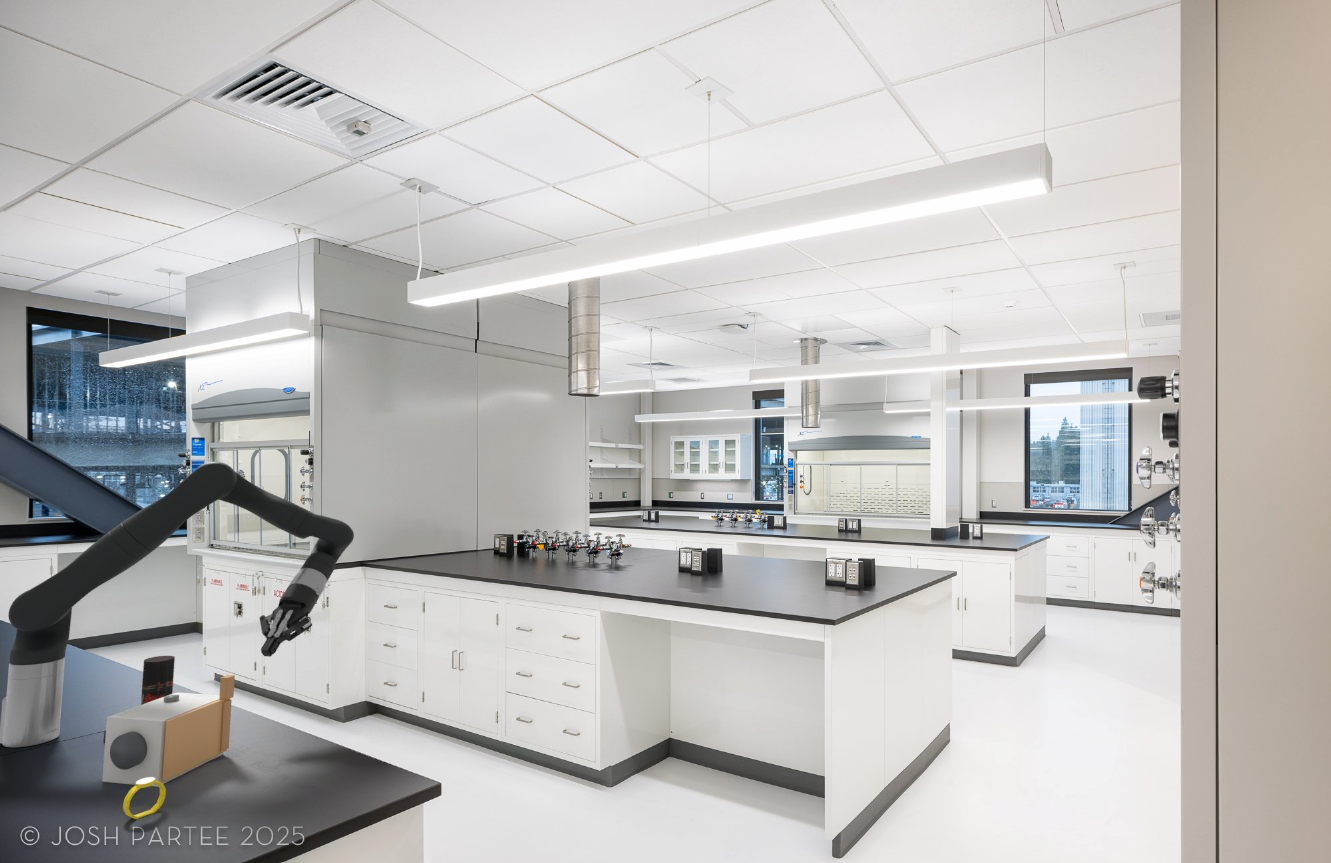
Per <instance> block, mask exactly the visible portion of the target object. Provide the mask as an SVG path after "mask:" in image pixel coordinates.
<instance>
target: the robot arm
mask: <svg viewBox="0 0 1331 863" xmlns="http://www.w3.org/2000/svg"><path fill="white" fill-rule="evenodd" d="M216 501H222V502H225V503H228V504H231V505H234V506H235V507H239V508H242V509H243V510H246V511H248V512H250V513H251V514H252V515H255V516H257V517H259V518H260V519H262V520H264V521H265V522H267V523H268V524H270V525H272V526H273V527H275V528H277V529H279V530H281V531H283V532H286V533H287V534H290V535H292V536H294V537H295V538H299V539H302V540H305V539H307V538H310V537H313V538H317V541H316V543H315V544H314V546H313V548H312V550H311V552H310V555H308V557H307V558H306V559H305V561H304V563H303V564H302V566H301V568H300V569H299V571H298V572H297V573H296V574H295V576H294V577H293V578H292V580H291V581H290V583H289V585H288V586H287V587H286V589H285V590H284V592H283V594H282V596H280V599H279V602H278V606H277V607H275V609H274V610H272V612H271V614H268V615H267V616H265V615H264V614H262V615H261V616H260V617H259V623H260V627H261V628H260V629H261V633H262V635H263V636H264V637H265V639H266V640H265V641H264V642H263V644H262V646H261V649H260V652H261V654H262V655H263V657H267V658H268V657H272V656H273V655H274V654H275V653H276V652H277V651H278V649H279V647H280V645H281V644H282V643H284V642H285V641H288V642H292V641H293V640H294V639H295V638H296V637H298V636H300V635H301V634H303V633H304V632H306V631H307V630H309V629H310V628H312V626H313V623H312V621H311V620H310V619H309V614H310V613H312V610H313V609H314V607H315V605H316V603H317V602H318V601H319V599H320V597H321V595H322V594H323V591H324V589H325V588H326V585H327V583H328V581H329V579H330V578H331V576H332V574H333V573H334V570H335V568H336V564H337V563H338V561H339V558H340V557H341V556H342V554H343V553H344V552H345V550H346V549H347V548H348V547H349V546H350V545H351V543H352V542H353V540H354V538H355V533H354V531H353V529H352V527H351V526H350V525H348V523H346V522H344V521H342V520H339V519H337V518H333V517H329V516H325V515H320V514H316V513H313V512H312V511H310V510H307V509H306V508H304V507H302V506H300V505H298V504H296V503H293V502H292V501H290V500H287V499H284V498H282V497H280V496H278V495H275V494H273V493H271V492H268V491H267V490H264V489H262V488H261V487H259V486H257V485H255V484H254V483H252V482H250V481H249V480H247V479H246V478H245V477H243V476H242V475H241V474H239V473H238V472H237V471H236V470H234V468H232V467H231V466H230V465H228V464H227V463H224V462H221V461H220V462H219V461H208V462H205V463H202V464H201V465H198V467H196V468H195V469H194V470H193V471H192V472H191V473H190V474H189V475H188V476H187V477H185V479H183V480H182V481H181V482H180V483H179V484H178V485H177V486H175V487H174V488H173V489H172V490H170V491H168V493H167V494H165V495H163V496H162V497H160V498H159V499H158V500H155V501H154V502H152V503H151V504H148V505H147V506H145V507H143V508H142V509H140V510H139V511H137V512H135V513H134V514H133V515H130V516H129V517H128V518H126V519H124V520H123V521H121V522H120V523H119V524H118V525H116V526H115V527H113V528H112V529H111V530H109V531H108V532H107V533H105V534H104V535H103V536H102V537H100V538H99V539H98V540H96V541H95V542H93V544H91V545H90V546H89V547H88V548H87V549H86V550H84V551H83V552H82V553H81V554H79V556H78V557H77V558H75V559H74V560H73V561H72V562H70V563H69V564H68V565H67V566H65V567H64V568H63V569H62V570H60V571H58V572H56V573H55V574H54V575H51V577H49V578H47V579H45V580H44V581H42V582H41V583H39V584H37V585H35V586H34V587H32V588H30V589H28V590H26V591H24V592H23V593H21V594H19V595H18V596H17V597H16V598H15V599H14V600H13V602H12V603H11V604H10V607H9V609H8V620H9V623H10V624H11V625H12V627H13V628H15V629H16V635H15V639H14V643H13V645H12V647H11V649H10V652H9V660H8V663H9V664H8V672H7V673H8V674H7V686H6V696H5V697H3V699H2V702H1V711H0V712H1V714H0V744H2V746H3V747H6V748H22V747H29V746H31V747H32V746H36V745H41V744H44V743H47V742H50V741H52V740H54V739H56V738H58V737H60V729H61V716H62V703H63V702H62V700H63V689H64V678H65V677H64V676H65V675H64V674H65V662H66V661H65V660H66V652H67V651H66V650H67V646H68V643H69V639H70V634H71V633H70V631H71V622H72V621H71V620H72V612H73V611H72V610H73V607H74V606H75V605H76V604H77V603H79V602H80V601H81V600H83V598H85V597H86V596H87V595H88V594H90V593H91V592H92V591H94V590H95V589H96V588H98V587H100V586H102V585H103V584H105V583H107V582H108V581H111V580H112V579H114V578H115V577H118V576H119V575H120V574H122V573H123V572H125V571H127V570H129V569H130V568H131V567H133V566H134V565H136V564H138V563H139V562H140V561H142V560H143V559H144V558H146V557H147V556H148V555H150V554H151V553H152V552H154V551H155V550H156V549H157V548H159V547H160V546H161V545H162V544H163V543H164V542H166V541H167V540H168V539H169V538H171V536H172V535H173V534H175V533H176V531H177V530H178V529H180V527H181V526H183V524H185V522H187V521H188V520H189V519H190V518H191V517H193V516H194V515H195V514H197V513H199V512H201V510H204V509H205V508H206V507H208V506H209V505H212V504H213V503H215V502H216Z"/></svg>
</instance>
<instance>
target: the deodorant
mask: <svg viewBox="0 0 1331 863" xmlns="http://www.w3.org/2000/svg"><path fill="white" fill-rule="evenodd" d="M175 658H176V657H175V656H174V655H157V656H152V657H147V658H145V659H144V660H143V666H142V680H141V681H142V683H141V684H142V685H141V699H140V705H142V704H145V703H148V702H151V701H154V700H156V699H159V698H162V697H165V696H168V695H171V694H173V693H174V692H173V691H174V675H175Z"/></svg>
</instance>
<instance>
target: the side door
mask: <svg viewBox="0 0 1331 863" xmlns="http://www.w3.org/2000/svg"><path fill="white" fill-rule="evenodd" d="M235 679H236V678H235V674H227V675H223V676H221V677H220V680H219V681H220V682H219V695H220V696H219V700H217V701H214V702H212V703H209V704H207V705H204V706H202V707H199V708H197V709H194V710H192V711H189V712H187V713H184V714H182V715H179V716H177V717H174V718H172V719H169V720H166V733H165V749H164V764H163V779H162V780H165V781H166V780H168V779H170V778H173V777H175V776H177V775H179V774H181V773H183V772H185V771H187V770H189V769H191V768H193V767H195V766H197V765H199V764H201V763H203V762H205V761H207V760H209V759H211V758H213V757H215V756H217V755H219V754H221V753H223V754H224V753H225V752H227V751H228V749H229V747H230V733H231V731H230V730H231V716H232V698H234V695H235V693H234V691H235Z"/></svg>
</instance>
